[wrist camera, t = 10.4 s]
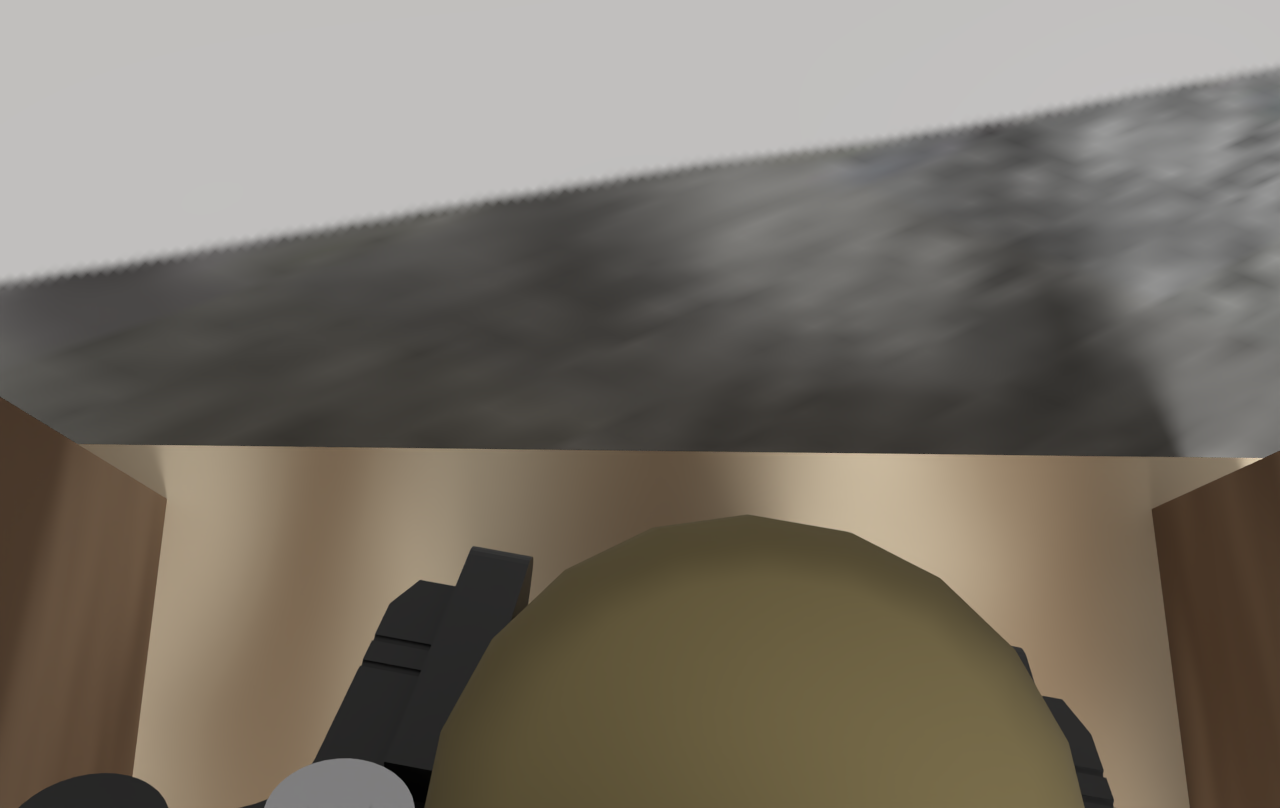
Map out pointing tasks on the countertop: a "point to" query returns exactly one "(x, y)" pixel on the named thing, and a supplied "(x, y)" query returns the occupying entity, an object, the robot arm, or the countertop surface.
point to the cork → (750, 686)
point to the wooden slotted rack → (572, 532)
